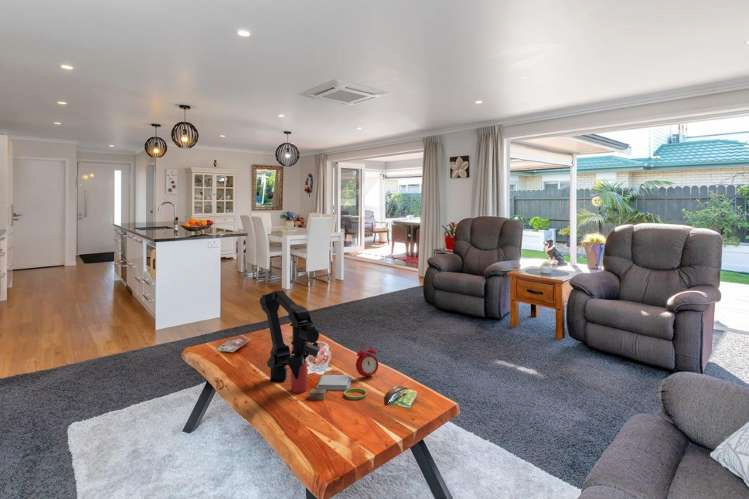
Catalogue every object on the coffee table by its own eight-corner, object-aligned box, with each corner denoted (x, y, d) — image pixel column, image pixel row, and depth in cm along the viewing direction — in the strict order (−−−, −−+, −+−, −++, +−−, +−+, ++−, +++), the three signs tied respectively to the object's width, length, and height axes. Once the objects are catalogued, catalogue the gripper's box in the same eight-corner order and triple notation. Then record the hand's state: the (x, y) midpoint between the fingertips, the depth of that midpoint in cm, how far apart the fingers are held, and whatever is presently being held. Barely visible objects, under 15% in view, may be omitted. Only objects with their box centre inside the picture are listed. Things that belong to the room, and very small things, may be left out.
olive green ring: (371, 411, 172) (371, 390, 172) (358, 419, 164) (358, 398, 164) (352, 406, 177) (352, 386, 177) (339, 414, 169) (339, 393, 169)
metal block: (309, 399, 166) (309, 392, 166) (311, 395, 170) (311, 388, 170) (323, 400, 165) (323, 393, 165) (325, 396, 169) (325, 389, 169)
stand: (316, 389, 176) (316, 385, 176) (321, 378, 190) (321, 374, 190) (348, 390, 175) (349, 386, 175) (351, 379, 189) (351, 374, 189)
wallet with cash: (404, 401, 179) (404, 382, 179) (410, 403, 177) (410, 384, 177) (382, 413, 168) (381, 392, 167) (388, 415, 166) (388, 394, 165)
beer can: (293, 394, 171) (293, 365, 170) (289, 389, 176) (289, 361, 176) (309, 391, 174) (309, 363, 173) (304, 386, 179) (304, 359, 179)
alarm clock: (360, 381, 187) (360, 348, 186) (354, 376, 193) (354, 344, 192) (380, 377, 192) (380, 345, 191) (374, 373, 197) (374, 342, 197)
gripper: (314, 344, 165) (314, 383, 165) (321, 333, 183) (321, 368, 184) (286, 344, 165) (286, 382, 166) (296, 332, 184) (296, 367, 184)
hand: (299, 374), depth 175 cm, fingers open, 9 cm apart
